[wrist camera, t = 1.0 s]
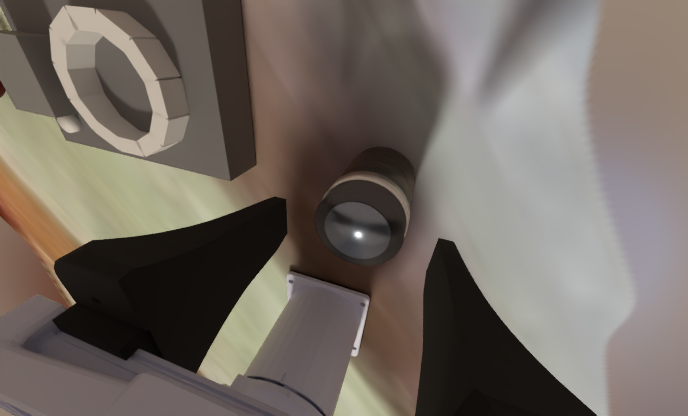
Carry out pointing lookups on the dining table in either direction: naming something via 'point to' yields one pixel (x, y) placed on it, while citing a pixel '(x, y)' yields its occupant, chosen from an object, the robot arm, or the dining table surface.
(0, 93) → the mug
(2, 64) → the camera body
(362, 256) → the lens
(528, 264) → the dining table surface
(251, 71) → the dining table surface
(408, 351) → the dining table surface
